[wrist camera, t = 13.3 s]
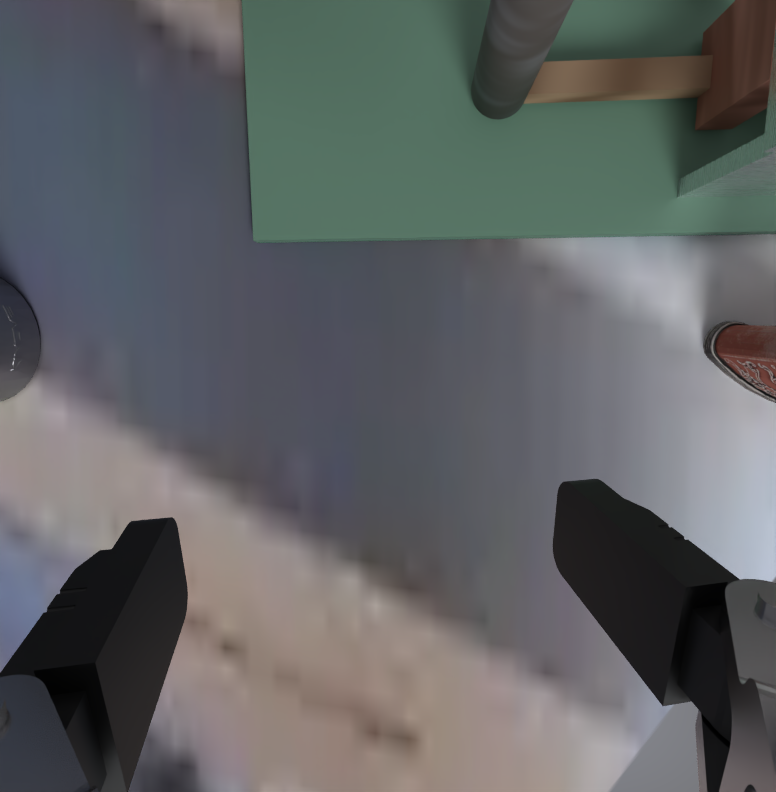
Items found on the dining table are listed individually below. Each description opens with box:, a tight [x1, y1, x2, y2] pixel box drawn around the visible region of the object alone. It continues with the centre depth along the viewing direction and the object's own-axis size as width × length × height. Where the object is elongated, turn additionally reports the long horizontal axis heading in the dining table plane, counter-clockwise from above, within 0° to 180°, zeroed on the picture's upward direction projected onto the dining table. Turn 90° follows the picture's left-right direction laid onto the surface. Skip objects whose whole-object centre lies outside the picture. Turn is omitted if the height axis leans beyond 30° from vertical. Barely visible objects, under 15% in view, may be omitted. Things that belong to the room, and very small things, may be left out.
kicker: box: [471, 0, 776, 130], centre depth 21 cm, size 15×5×13 cm, turn 91°
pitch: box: [242, 0, 776, 243], centre depth 29 cm, size 34×16×1 cm, turn 91°
